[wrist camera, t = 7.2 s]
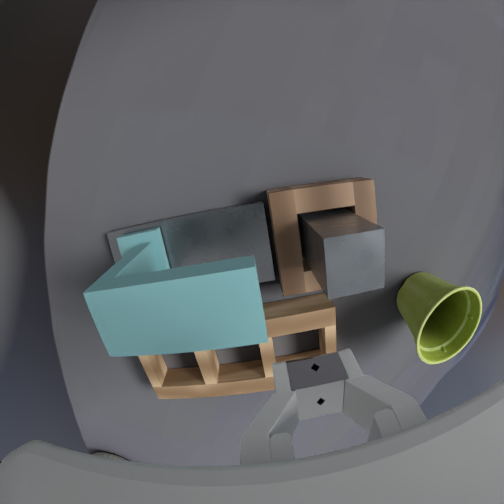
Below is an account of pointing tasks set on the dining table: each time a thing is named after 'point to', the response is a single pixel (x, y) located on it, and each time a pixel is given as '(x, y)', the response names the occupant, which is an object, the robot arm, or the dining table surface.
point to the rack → (250, 372)
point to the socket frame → (258, 230)
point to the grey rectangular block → (343, 251)
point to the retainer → (174, 302)
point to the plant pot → (438, 315)
